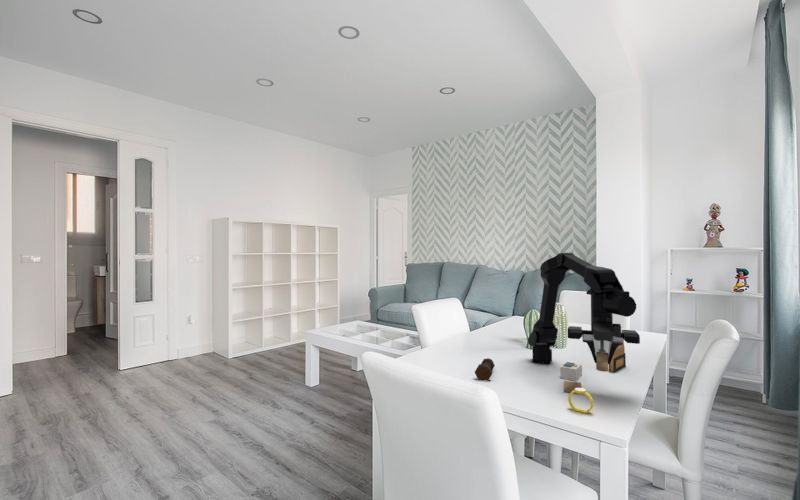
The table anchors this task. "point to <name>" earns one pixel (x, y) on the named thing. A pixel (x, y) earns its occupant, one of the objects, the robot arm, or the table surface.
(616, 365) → the ammunition clip
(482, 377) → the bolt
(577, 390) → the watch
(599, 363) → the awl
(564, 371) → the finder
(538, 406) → the table surface
